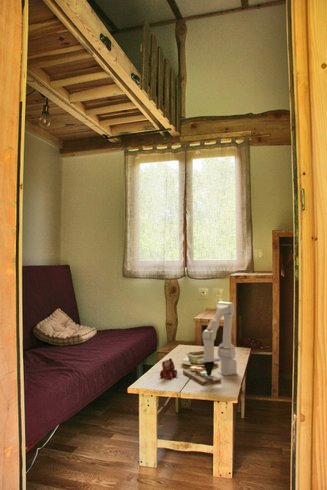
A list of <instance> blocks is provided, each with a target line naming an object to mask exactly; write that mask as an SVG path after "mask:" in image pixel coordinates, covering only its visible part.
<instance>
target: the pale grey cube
mask: <svg viewBox="0 0 327 490" xmlns="http://www.w3.org/2000/svg"><path fill="white" fill-rule="evenodd" d="M213 375H214V374H212V375H210V376H208V375H207V374H205V375H204V377H205V378H206V379H207V380H211V379H213Z"/></svg>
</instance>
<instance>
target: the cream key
mask: <svg viewBox="0 0 327 490" xmlns="http://www.w3.org/2000/svg"><path fill="white" fill-rule="evenodd" d="M195 367H197V365H196V366H195V365H193V366H190V367H189V369H190V370H192V371H193V372H194V371H195Z"/></svg>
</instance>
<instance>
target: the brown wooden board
mask: <svg viewBox="0 0 327 490" xmlns="http://www.w3.org/2000/svg"><path fill="white" fill-rule="evenodd" d="M203 371H206V369H203ZM182 374H183V375H184V376H186V375H187V376H186V377H188V378H190V379H192V380H193V381H195V382H197V383H198V384H200V385H201V386H206V385H213V384H221V383H222V379H221V378H220V377H218V376H216V375H214V374H212V373H211V375H213V379H211V380H207V379H206V378H205V377H202V376H201V375H199V374H196V371H194V372H193V371H192V370H190V368H189V369H183V370H182Z"/></svg>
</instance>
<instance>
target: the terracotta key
mask: <svg viewBox="0 0 327 490" xmlns="http://www.w3.org/2000/svg"><path fill="white" fill-rule="evenodd" d="M203 370H204V368H203V367H201V366H196V367H195V371H196V374H199V372H202V371H203Z"/></svg>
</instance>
